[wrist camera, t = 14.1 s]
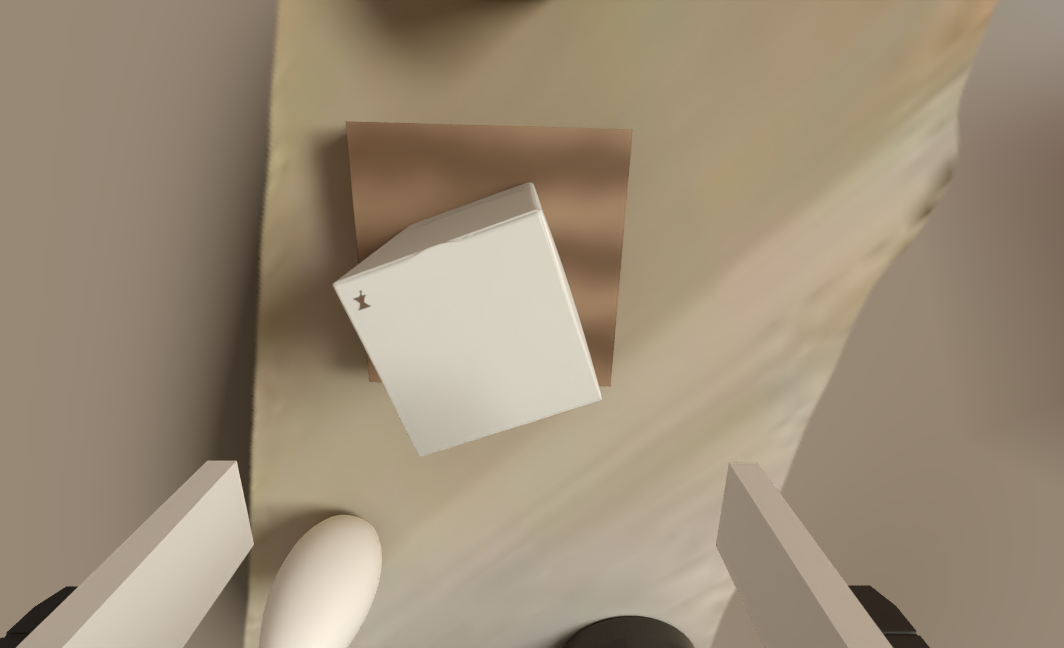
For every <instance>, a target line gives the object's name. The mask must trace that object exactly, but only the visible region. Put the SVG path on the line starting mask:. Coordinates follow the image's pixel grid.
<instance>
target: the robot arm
mask: <svg viewBox="0 0 1064 648" xmlns="http://www.w3.org/2000/svg"><path fill="white" fill-rule="evenodd" d="M253 545H254V542H253V537H252V533H251V528H250V523H249V518H248V513H247V509H246V505H245V499H244V494H243V490H242V485H241V480H240V475H239V470H238V466H237V461H207V462H206V463H205V464H204V465H203V466H202V467H201V468H200V469H199V470H198V471H196V473H195V474H193V475H192V476H191V477H190V478H189V479H188V480H187V481H186V482H185V483H184V484H183V485H182V486H181V487H180V488H179V489H178V490H177V491H176V492H175V493H174V494H173V495H172V496H171V497H170V498H169V499H168V500H167V501H166V502H165V503H164V504H163V505H162V506H161V507H160V508H159V509H157V510H156V512H154V513H153V514H152V515H151V516H150V517H149V518H148V519H147V520H146V521H145V522H144V523H143V524H142V525H141V526H140V527H139V528H138V529H137V530H136V531H135V532H134V533H133V534H132V535H131V536H130V537H129V538H128V539H127V540H126V541H125V542H124V543H123V544H122V545H121V546H120V547H119V548H117V549H116V550H115V551H114V552H113V553H112V554H111V555H110V556H109V557H108V558H107V559H106V560H105V561H104V562H103V563H102V564H101V565H100V566H99V567H98V568H97V569H96V570H95V571H94V572H93V573H92V574H91V575H90V576H89V577H88V578H87V579H86V580H85V581H84V582H83V583H82V584H81V585H80V586H79V587H65V588H63V589H62V590H60V591H59V592H57V593H56V594H54V595H52V596H51V597H49V598H48V599H46V600H45V601H43V602H42V603H40V604H38V605H37V606H35V607H34V608H33V609H32V610H31V611H29V612H28V613H27V614H26V615H25V616H24V617H23V618H22V619H21V620H20V621H19V622H18V623H16V625H14V626H13V627H12V628H11V629H10V630H9V631H8V632H7V634H6V636H5V638H0V648H183V646H184V645H185V644H186V642H187V641H188V639H189V638H190V636H191V635H192V633H193V632H194V631H195V629H196V627H197V626H198V625H199V623H200V622H201V620H202V619H203V618H204V616H205V615H206V613H207V612H208V610H209V609H210V607H211V606H212V605H213V603H214V601H215V600H216V599H217V597H218V596H219V594H220V593H221V592H222V590H223V589H224V587H225V586H226V584H227V583H228V581H229V580H230V578H231V577H232V575H233V574H234V573H235V571H236V570H237V568H238V567H239V565H240V564H241V563H242V561H243V560H244V558H245V557H246V555H247V554H248V552H249V551H250V550H251V548H252V547H253ZM716 546H717V549H718V551H719V553H720V555H721V557H722V559H723V561H724V563H725V565H726V567H727V570H728V572H729V574H730V576H731V578H732V580H733V582H734V584H735V586H736V588H737V591H738V592H739V595H740V597H741V599H742V601H743V603H744V605H745V607H746V610H747V612H748V614H749V616H750V618H751V620H752V622H753V624H754V626H755V628H756V630H757V633H758V635H759V637H760V639H761V641H762V643H763V645H764V647H765V648H929V646H928V645H927V644H926V643H925V641H924V640H923V639H922V638H921V636H918V635H917V634H916V630H915V629H914V628H913V626H912V625H911V624H910V623H909V621H908V620H907V619H906V618H905V617H904V615H903V614H902V613H901V612H900V610H899V609H898V608H897V607H896V606H895V605H894V604H893V603H891V602H890V601H889V600H887V599H886V598H885V597H884V596H882V595H881V594H880V593H879V592H877V591H876V590H875V589H874V588H872V587H871V586H847V584H846V583H845V582H844V580H843V579H842V578H841V576H840V575H839V573H838V572H837V571H836V569H835V568H834V566H833V565H832V564H831V562H830V561H829V560H828V558H827V557H826V556H825V554H824V553H823V551H822V550H821V549H820V547H819V546H818V545H817V544H816V542H815V541H814V539H813V538H812V536H810V534H809V532H808V531H807V530H806V528H805V527H804V526H803V524H802V523H801V521H800V520H799V519H798V518H797V516H796V515H795V513H794V512H793V511H792V509H791V508H790V506H789V505H788V504H787V502H786V501H785V500H784V498H783V497H782V495H781V494H780V493H779V491H778V490H777V489H776V487H775V486H774V485H773V483H772V482H771V480H770V479H769V478H768V476H767V475H766V474H765V472H764V471H763V470H762V468H761V467H760V465H759V464H758V463H729V466H728V472H727V479H726V485H725V491H724V498H723V504H722V510H721V517H720V523H719V529H718V536H717V542H716ZM563 648H694V646H693V644H692V643H691V641H690V640H689V639H688V638H687V637H686V636H685V635H684V634H683V633H682V632H681V631H679V630H678V629H676V628H675V627H673V626H671V625H669V624H667V623H664V622H661V621H658V620H654V619H650V618H643V617H620V618H614V619H609V620H605V621H602V622H599V623H596V624H593V625H591V626H589V627H587V628H585V629H584V630H582V631H580V632H579V633H577V634H576V635H575V636H574V637H572V638H571V639H570V640H569V641H568V642H567V643H566V645H565V646H564V647H563Z"/></svg>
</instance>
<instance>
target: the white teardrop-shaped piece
mask: <svg viewBox="0 0 1064 648" xmlns="http://www.w3.org/2000/svg"><path fill="white" fill-rule="evenodd" d="M381 567H382V553H381V545H380V542H379V538H378V535H377V532H376V531H375V529H374V528H373V526H372V525H371V524H369V523H368V522H367V521H365V520H363V519H361V518H358V517H355V516H351V515H336V516H332V517H330V518H327V519H325V520H323V521H322V522H320V523H318V524H317V525H315V526H314V527H312V528H311V529H310V530H309V531H308V532H307V533H306V534H305V535H304V536H302V537H301V539H300V540H299V541H298V542H297V543H296V544H295V545H294V547H293V548H292V550H291V551H290V553H289V554H288V556H287V557H286V559H285V560H284V562H283V564H282V566H281V567H280V569H279V571H278V573H277V575H276V578H275V580H274V582H273V585H272V588H271V590H270V593H269V596H268V599H267V602H266V606H265V610H264V614H263V619H262V624H261V632H260V642H259V648H347V647H348V646H349V644H350V643H351V641H352V640H353V639H354V637H355V636H356V634H357V632H358V631H359V629H360V628H361V626H362V624H363V622H364V620H365V618H366V616H367V614H368V612H369V610H370V607H371V605H372V603H373V600H374V597H375V595H376V592H377V588H378V584H379V579H380V574H381Z"/></svg>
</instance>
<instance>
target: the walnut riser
mask: <svg viewBox="0 0 1064 648" xmlns="http://www.w3.org/2000/svg"><path fill="white" fill-rule="evenodd" d="M346 130H347V141H348V153H349V164H350V175H351V186H352V197H353V208H354V219H355V230H356V241H357V252H358V263H361V262H362V261H363V260H365V259H366V258H367V257H369V256H370V255H371V254H373V253H374V252H375V251H377V250H378V249H379V248H381V247H382V246H383V245H384V244H386V243H387V242H388V241H390V240H391V239H392V238H394V237H395V236H396V235H398V234H399V233H400V232H402V231H403V230H404V229H406V228H407V227H408V226H410V225H412V224H414V223H417V222H419V221H422V220H425V219H428V218H430V217H433V216H436V215H438V214H441V213H444V212H447V211H450V210H452V209H455V208H458V207H461V206H463V205H466V204H469V203H472V202H474V201H477V200H480V199H483V198H485V197H488V196H491V195H494V194H497V193H499V192H502V191H505V190H508V189H511V188H513V187H516V186H519V185H522V184H525V183H528V182H531V183H533V184H534V187H535V190H536V192H537V195H538V198H539V201H540V204H541V207H542V210H543V212H544V215H545V218H546V221H547V223H548V226H549V228H550V231H551V234H552V237H553V240H554V243H555V246H556V248H557V251H558V254H559V257H560V260H561V263H562V266H563V269H564V272H565V275H566V278H567V281H568V284H569V287H570V290H571V294H572V297H573V300H574V303H575V306H576V309H577V313H578V316H579V319H580V322H581V326H582V329H583V332H584V336H585V339H586V342H587V346H588V350H589V353H590V356H591V360H592V363H593V367H594V370H595V374H596V377H597V381H598V385H599V386H611V374H612V362H613V351H614V339H615V327H616V316H617V304H618V292H619V281H620V269H621V258H622V246H623V234H624V223H625V211H626V199H627V188H628V176H629V165H630V153H631V141H632V129H597V128H561V127H525V126H489V125H453V124H417V123H381V122H346ZM367 363H368V374H369V382H382V381H381V379H380V377H379V375H378V373H377V371H376V369H375V368H374V366H373V364H372V362H371V360H370V358H369V356H368V354H367Z"/></svg>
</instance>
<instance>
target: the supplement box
mask: <svg viewBox="0 0 1064 648" xmlns="http://www.w3.org/2000/svg"><path fill="white" fill-rule="evenodd" d="M333 288H334V290H335V292H336V294H337V296H338V297H339V299H340V301H341V303H342V305H343V307H344V309H345V311H346V313H347V315H348V317H349V319H350V321H351V323H352V325H353V327H354V329H355V331H356V332H357V334H358V336H359V338H360V340H361V342H362V344H363V346H364V348H365V350H366V352H367V354H368V356H369V358H370V360H371V362H372V364H373V366H374V368H375V369H376V371H377V373H378V375H379V377H380V379H381V381H382V383H383V385H384V387H385V389H386V391H387V393H388V395H389V397H390V399H391V401H392V403H393V405H394V407H395V410H396V412H397V414H398V416H399V418H400V420H401V422H402V424H403V426H404V428H405V430H406V432H407V434H408V436H409V438H410V440H411V442H412V444H413V446H414V448H415V450H416V452H417V454H418V456H419V457H423V456H426V455H429V454H432V453H435V452H438V451H441V450H444V449H447V448H451V447H454V446H457V445H460V444H463V443H467V442H470V441H473V440H476V439H479V438H483V437H486V436H489V435H492V434H495V433H498V432H502V431H505V430H508V429H511V428H514V427H518V426H521V425H524V424H527V423H530V422H534V421H537V420H540V419H543V418H546V417H549V416H552V415H556V414H559V413H562V412H565V411H568V410H571V409H574V408H577V407H580V406H584V405H587V404H590V403H594V402H597V401H600V400H602V397H601V392H600V388H599V385H598V381H597V377H596V374H595V370H594V367H593V363H592V360H591V356H590V353H589V350H588V346H587V342H586V339H585V336H584V332H583V329H582V326H581V322H580V319H579V316H578V313H577V309H576V306H575V303H574V300H573V297H572V294H571V290H570V287H569V284H568V281H567V278H566V275H565V272H564V269H563V266H562V263H561V260H560V257H559V254H558V251H557V248H556V246H555V243H554V240H553V237H552V234H551V231H550V228H549V226H548V223H547V221H546V218H545V215H544V212H543V210H542V207H541V204H540V201H539V198H538V195H537V192H536V190H535V187H534V184H533V183H531V182H528V183H525V184H522V185H519V186H516V187H513V188H511V189H508V190H505V191H502V192H499V193H497V194H494V195H491V196H488V197H485V198H483V199H480V200H477V201H474V202H472V203H469V204H466V205H463V206H461V207H458V208H455V209H452V210H450V211H447V212H444V213H441V214H438V215H436V216H433V217H430V218H428V219H425V220H422V221H419V222H417V223H414V224H412V225H410V226H408V227H407V228H406V229H404V230H403V231H402V232H400V233H399V234H398V235H396V236H395V237H394V238H392V239H391V240H390V241H388V242H387V243H386V244H384V245H383V246H382V247H381V248H379V249H378V250H377V251H375V252H374V253H373V254H371V255H370V256H369V257H367V258H366V259H365V260H363V261H362V262H361V263H359V264H358V265H357V266H355V267H354V268H353V269H351V270H350V271H349V272H348V273H346V274H345V275H344V276H342V277H341V278H340V279H338V280H337V281H336V282H334V283H333Z"/></svg>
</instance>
